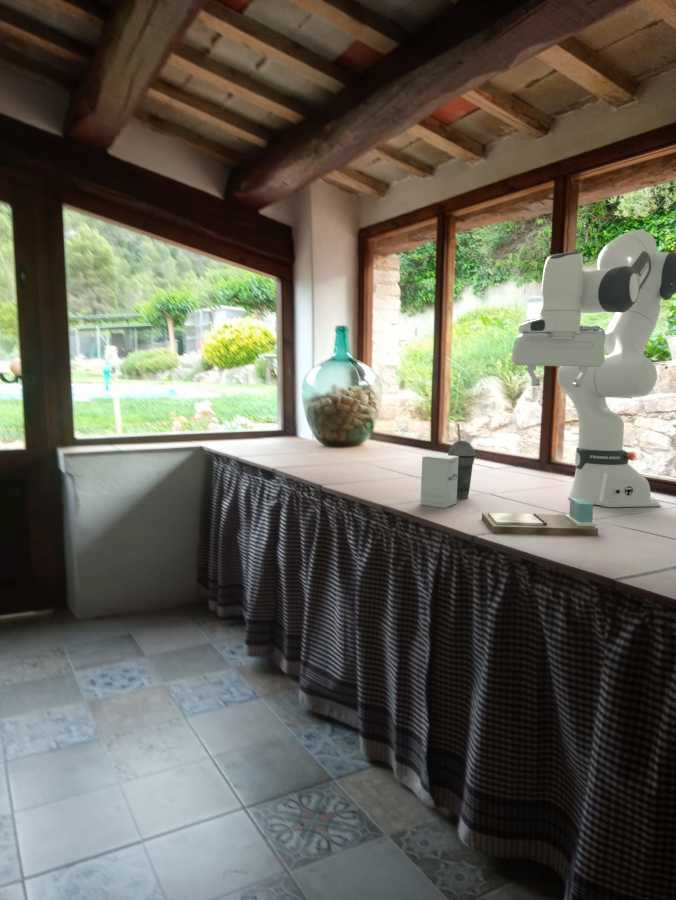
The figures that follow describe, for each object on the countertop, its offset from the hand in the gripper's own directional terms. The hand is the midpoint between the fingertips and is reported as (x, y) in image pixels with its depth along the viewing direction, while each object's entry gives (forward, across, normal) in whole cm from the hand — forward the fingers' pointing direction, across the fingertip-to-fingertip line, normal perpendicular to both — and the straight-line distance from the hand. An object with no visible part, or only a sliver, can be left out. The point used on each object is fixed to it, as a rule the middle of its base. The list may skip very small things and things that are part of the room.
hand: (556, 386), depth 148 cm
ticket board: (+31, +6, +8) cm, 33 cm away
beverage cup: (+31, +17, -24) cm, 43 cm away
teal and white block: (+30, -4, +8) cm, 31 cm away
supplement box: (+31, +24, -14) cm, 42 cm away
